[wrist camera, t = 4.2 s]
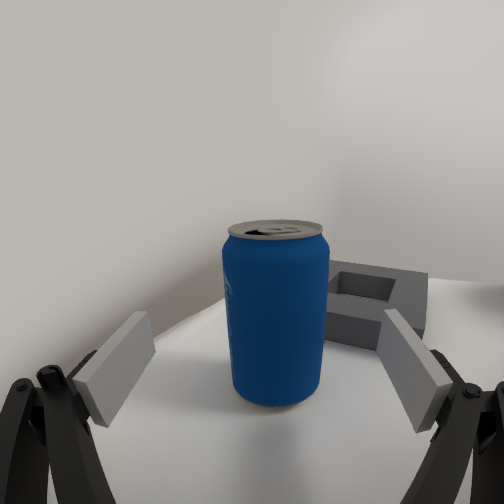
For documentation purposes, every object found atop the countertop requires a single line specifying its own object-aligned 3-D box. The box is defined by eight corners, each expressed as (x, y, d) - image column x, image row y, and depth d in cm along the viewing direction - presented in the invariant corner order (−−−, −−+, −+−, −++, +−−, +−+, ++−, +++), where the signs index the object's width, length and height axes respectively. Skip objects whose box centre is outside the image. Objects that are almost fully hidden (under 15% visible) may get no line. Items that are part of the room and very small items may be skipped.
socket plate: (424, 293, 33) (428, 273, 32) (416, 358, 21) (424, 329, 20) (321, 278, 42) (322, 258, 41) (265, 323, 29) (265, 297, 29)
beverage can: (227, 367, 22) (214, 222, 19) (299, 354, 24) (303, 216, 21) (243, 422, 16) (230, 242, 13) (332, 400, 17) (351, 232, 14)
